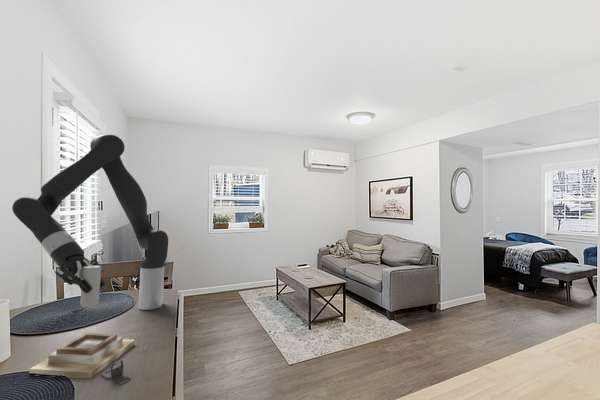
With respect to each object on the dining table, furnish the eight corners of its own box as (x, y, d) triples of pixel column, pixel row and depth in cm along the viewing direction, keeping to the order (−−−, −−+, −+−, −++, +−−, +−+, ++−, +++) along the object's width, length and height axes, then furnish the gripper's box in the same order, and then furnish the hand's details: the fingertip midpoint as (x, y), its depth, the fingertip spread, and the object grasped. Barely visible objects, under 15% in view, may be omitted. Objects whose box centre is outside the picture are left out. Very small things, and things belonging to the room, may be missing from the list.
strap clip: (100, 377, 73) (101, 360, 73) (112, 371, 75) (113, 355, 75) (119, 387, 69) (120, 370, 69) (132, 381, 71) (133, 364, 71)
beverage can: (88, 308, 86) (91, 268, 87) (75, 306, 87) (78, 267, 88) (102, 303, 91) (105, 265, 91) (90, 301, 92) (93, 264, 92)
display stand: (85, 341, 90) (86, 326, 90) (134, 344, 89) (135, 329, 89) (29, 374, 72) (30, 356, 72) (90, 378, 71) (91, 359, 71)
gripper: (50, 243, 83) (86, 287, 82) (89, 238, 97) (120, 275, 96) (32, 260, 83) (68, 304, 82) (73, 253, 98) (104, 290, 96)
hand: (96, 288), depth 89 cm, fingers closed on beverage can, 4 cm apart
